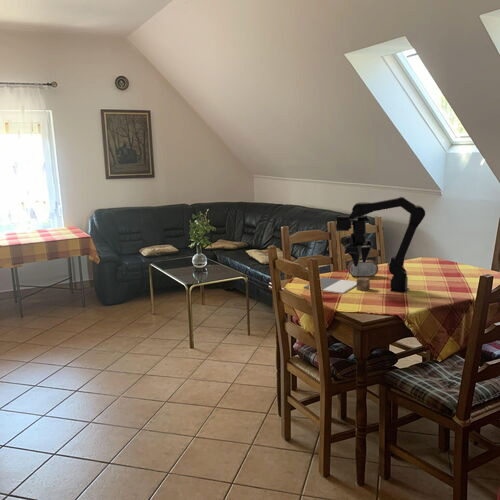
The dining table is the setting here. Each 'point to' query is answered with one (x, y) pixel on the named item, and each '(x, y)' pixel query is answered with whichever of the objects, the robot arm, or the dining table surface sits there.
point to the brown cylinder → (363, 284)
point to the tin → (363, 268)
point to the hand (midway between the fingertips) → (360, 264)
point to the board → (335, 285)
